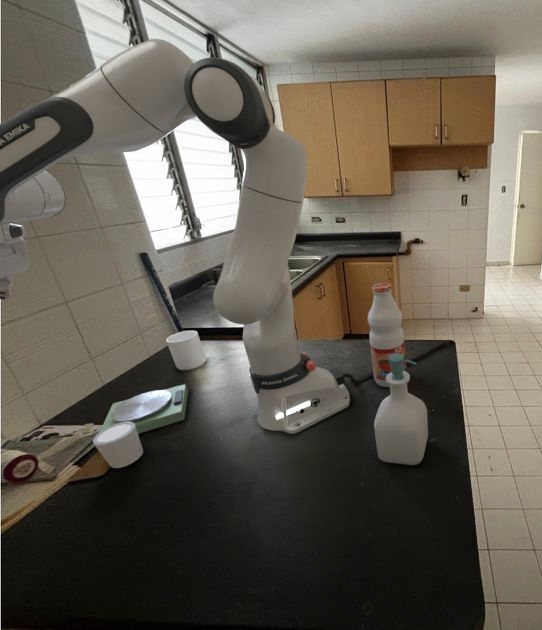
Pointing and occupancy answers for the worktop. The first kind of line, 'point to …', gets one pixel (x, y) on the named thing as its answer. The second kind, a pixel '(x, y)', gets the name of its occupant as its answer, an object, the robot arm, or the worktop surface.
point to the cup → (186, 350)
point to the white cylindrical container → (119, 444)
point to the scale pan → (141, 406)
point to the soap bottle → (401, 419)
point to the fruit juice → (384, 332)
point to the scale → (162, 417)
